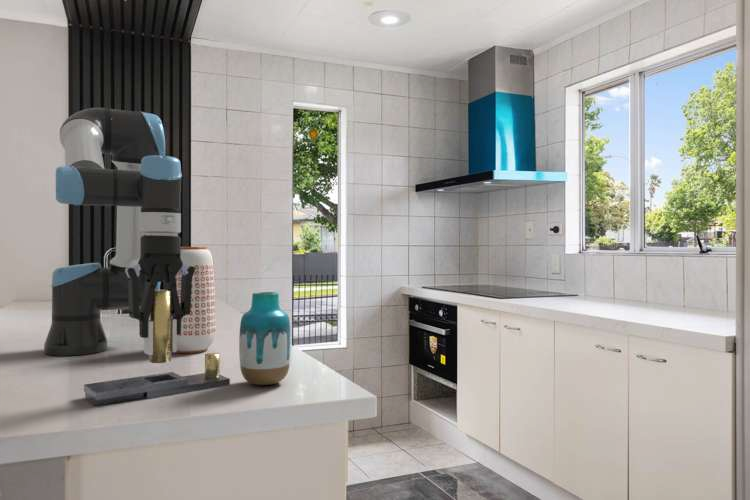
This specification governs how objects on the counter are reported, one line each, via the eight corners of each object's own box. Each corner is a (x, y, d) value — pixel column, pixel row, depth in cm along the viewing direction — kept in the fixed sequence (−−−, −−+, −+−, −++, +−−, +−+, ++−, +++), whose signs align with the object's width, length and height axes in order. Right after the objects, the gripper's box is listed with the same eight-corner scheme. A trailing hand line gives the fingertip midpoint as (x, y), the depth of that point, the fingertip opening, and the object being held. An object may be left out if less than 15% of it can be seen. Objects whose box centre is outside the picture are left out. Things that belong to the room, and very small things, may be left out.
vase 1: (161, 356, 150) (161, 247, 149) (167, 346, 163) (167, 246, 162) (214, 354, 153) (215, 247, 152) (216, 345, 166) (217, 246, 165)
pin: (146, 360, 115) (146, 290, 115) (166, 358, 118) (166, 289, 118) (154, 364, 112) (154, 291, 112) (174, 361, 115) (174, 290, 115)
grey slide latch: (83, 397, 110) (83, 366, 110) (212, 377, 127) (212, 350, 127) (96, 407, 104) (96, 373, 104) (229, 384, 121) (229, 355, 121)
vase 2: (266, 393, 114) (267, 296, 114) (228, 385, 120) (228, 293, 120) (300, 382, 123) (301, 292, 123) (263, 375, 129) (264, 289, 129)
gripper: (122, 234, 106) (121, 361, 107) (209, 235, 118) (209, 350, 118) (109, 234, 112) (109, 354, 112) (194, 235, 123) (193, 345, 124)
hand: (160, 352), depth 115 cm, fingers closed on pin, 4 cm apart
